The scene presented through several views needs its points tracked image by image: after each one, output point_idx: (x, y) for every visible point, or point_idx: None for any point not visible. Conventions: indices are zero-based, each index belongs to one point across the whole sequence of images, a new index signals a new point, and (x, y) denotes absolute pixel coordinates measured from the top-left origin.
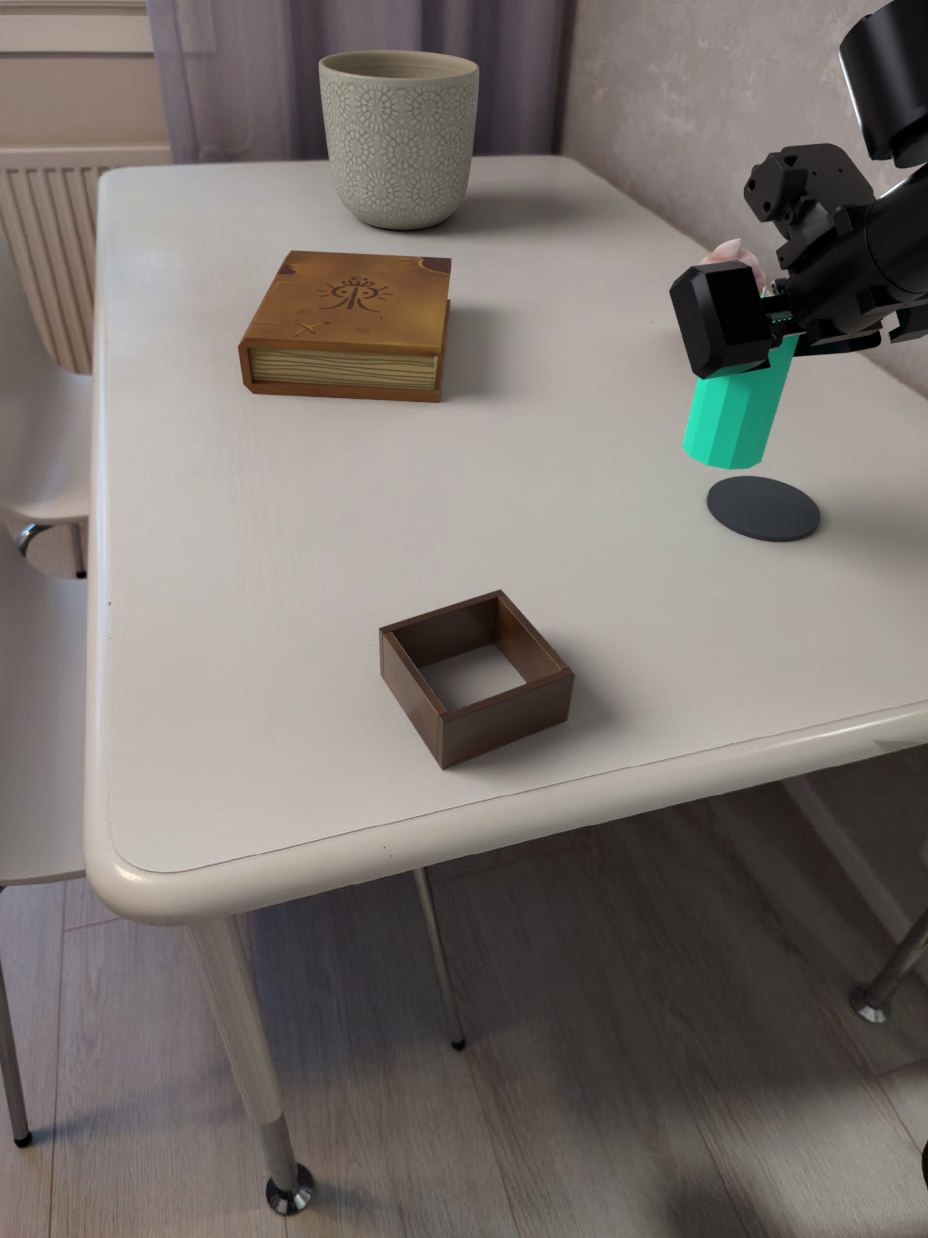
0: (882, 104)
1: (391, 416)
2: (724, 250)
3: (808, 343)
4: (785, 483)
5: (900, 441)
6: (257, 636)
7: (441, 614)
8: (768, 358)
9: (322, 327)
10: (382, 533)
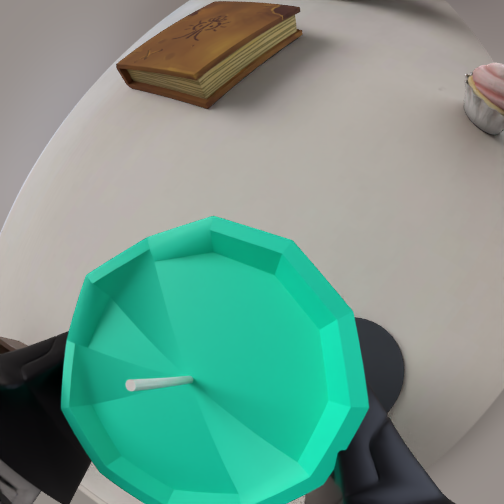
0: None
1: (167, 117)
2: (496, 68)
3: (310, 493)
4: (400, 354)
5: None
6: (8, 282)
7: (8, 349)
8: (58, 501)
9: (154, 54)
10: (71, 236)
